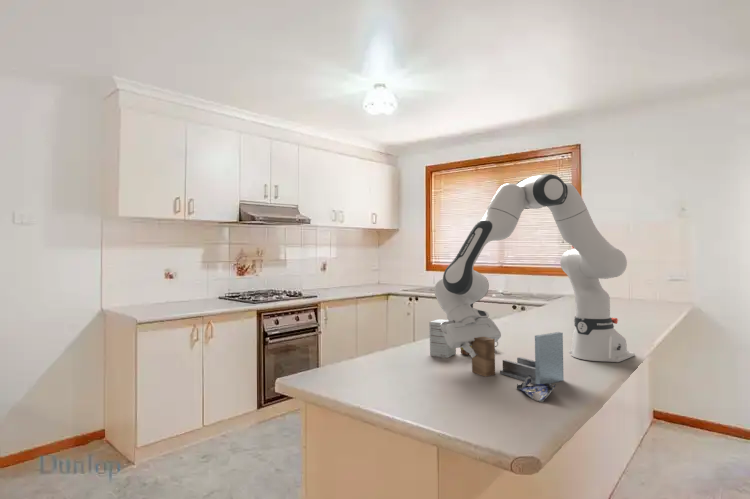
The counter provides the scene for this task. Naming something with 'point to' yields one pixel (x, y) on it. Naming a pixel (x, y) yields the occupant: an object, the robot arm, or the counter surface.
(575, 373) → the counter surface
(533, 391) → the snack package
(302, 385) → the counter surface
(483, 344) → the tan wooden block
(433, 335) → the supplement box
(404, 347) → the counter surface
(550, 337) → the track
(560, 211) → the robot arm
